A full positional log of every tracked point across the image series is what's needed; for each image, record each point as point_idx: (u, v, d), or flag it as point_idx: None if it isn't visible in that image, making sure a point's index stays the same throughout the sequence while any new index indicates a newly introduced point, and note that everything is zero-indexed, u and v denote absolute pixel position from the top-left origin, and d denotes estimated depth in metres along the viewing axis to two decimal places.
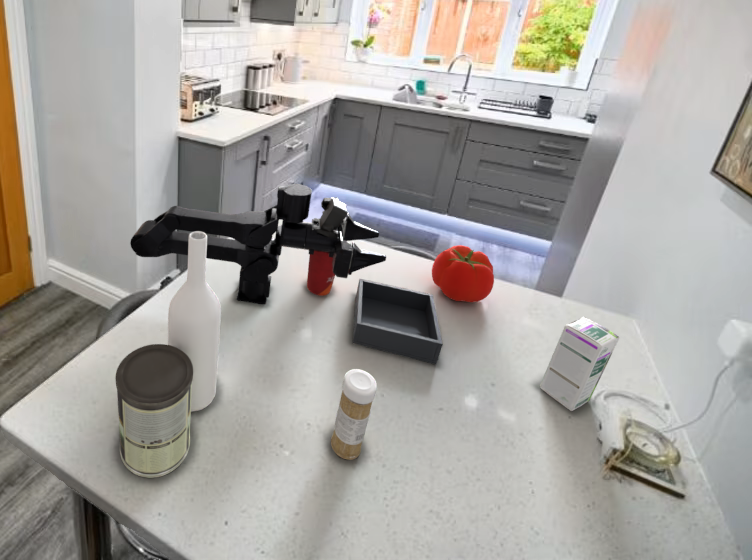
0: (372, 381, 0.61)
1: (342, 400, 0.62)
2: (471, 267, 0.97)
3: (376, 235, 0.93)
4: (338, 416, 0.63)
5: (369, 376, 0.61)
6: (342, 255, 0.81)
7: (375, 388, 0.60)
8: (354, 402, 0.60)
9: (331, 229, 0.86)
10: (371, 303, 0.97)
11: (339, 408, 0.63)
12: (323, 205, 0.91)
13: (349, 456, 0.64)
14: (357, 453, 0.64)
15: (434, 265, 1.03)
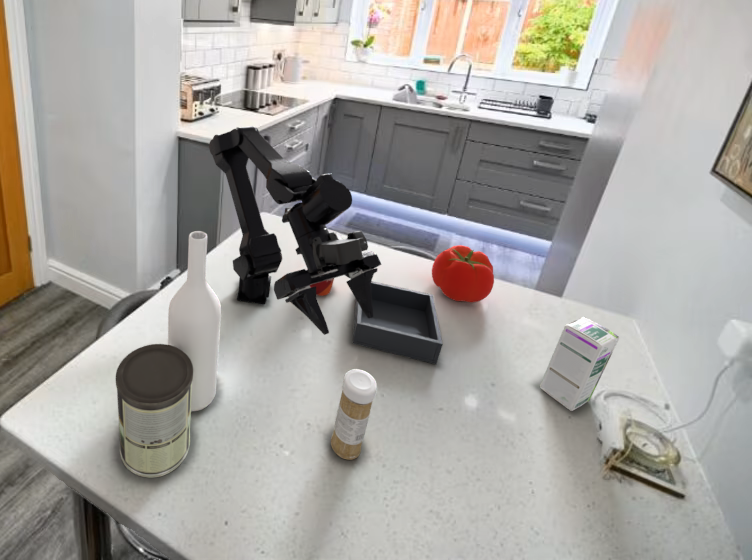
0: (372, 381, 0.61)
1: (342, 400, 0.62)
2: (471, 267, 0.97)
3: (368, 315, 0.72)
4: (338, 416, 0.63)
5: (369, 376, 0.61)
6: (286, 281, 0.67)
7: (375, 388, 0.60)
8: (354, 402, 0.60)
9: (320, 257, 0.69)
10: None
11: (339, 408, 0.63)
12: (351, 235, 0.71)
13: (349, 456, 0.64)
14: (357, 453, 0.64)
15: (434, 265, 1.03)
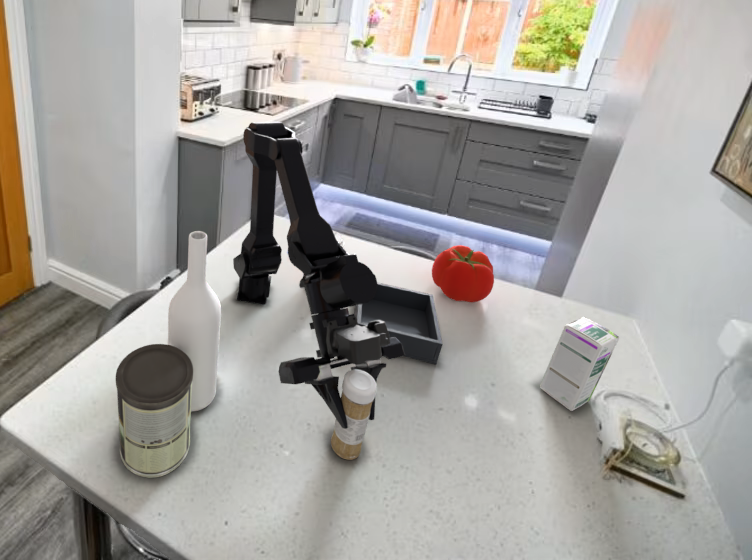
0: (372, 381, 0.61)
1: (342, 400, 0.62)
2: (471, 267, 0.97)
3: None
4: None
5: (369, 376, 0.61)
6: (290, 371, 0.60)
7: (375, 388, 0.60)
8: (354, 402, 0.60)
9: (333, 346, 0.62)
10: (371, 303, 0.97)
11: None
12: (372, 324, 0.62)
13: (349, 456, 0.64)
14: (357, 453, 0.64)
15: (434, 265, 1.03)
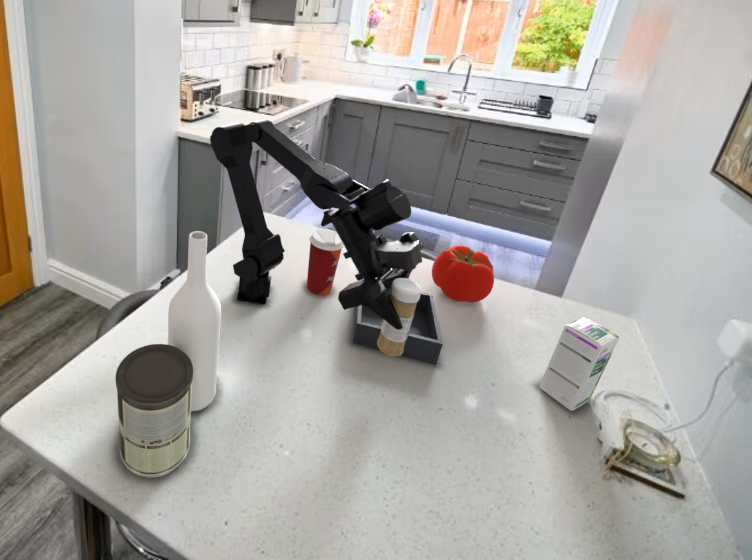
0: (414, 283, 0.72)
1: None
2: (471, 267, 0.97)
3: None
4: None
5: (409, 280, 0.72)
6: (361, 293, 0.66)
7: (419, 287, 0.71)
8: (408, 303, 0.70)
9: (382, 263, 0.70)
10: None
11: None
12: (404, 237, 0.73)
13: (399, 352, 0.74)
14: (403, 348, 0.75)
15: (434, 265, 1.03)
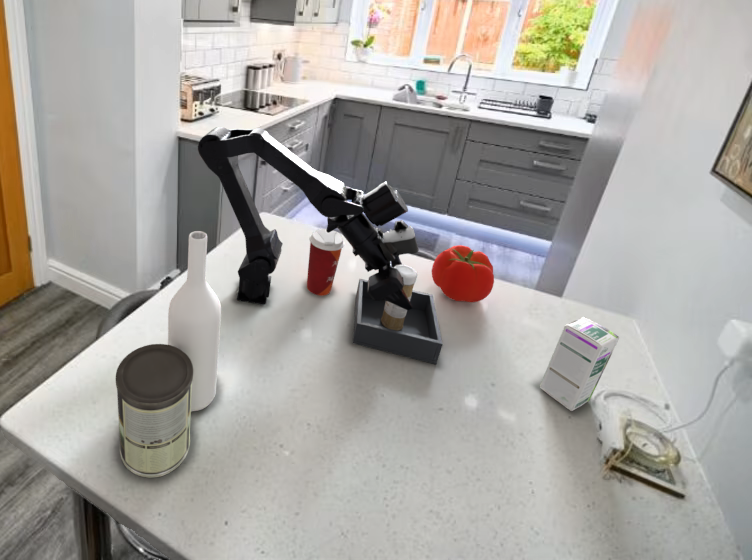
0: (408, 266, 0.87)
1: None
2: (471, 267, 0.97)
3: None
4: None
5: (403, 265, 0.87)
6: (393, 283, 0.77)
7: (413, 269, 0.87)
8: (411, 284, 0.85)
9: (393, 252, 0.82)
10: (371, 303, 0.97)
11: None
12: (397, 225, 0.86)
13: (402, 325, 0.89)
14: None
15: (434, 265, 1.03)
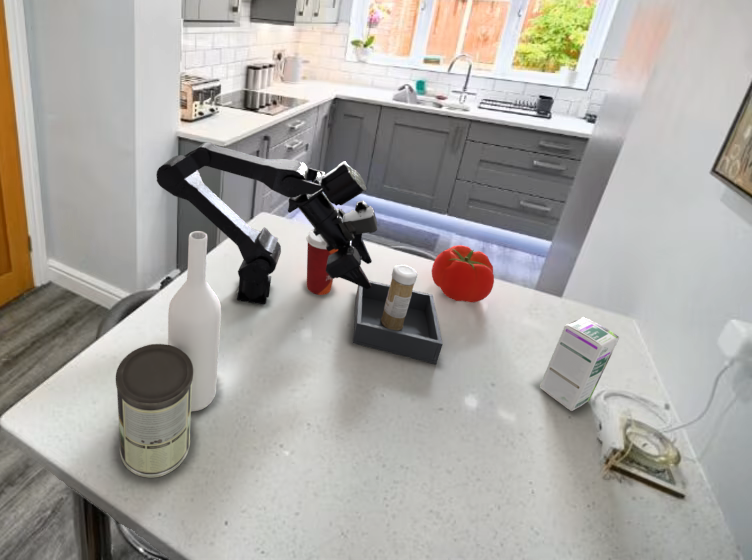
0: (408, 266, 0.87)
1: (399, 290, 0.85)
2: (471, 267, 0.97)
3: (368, 261, 0.92)
4: (396, 304, 0.87)
5: (403, 265, 0.87)
6: (349, 260, 0.78)
7: None
8: (411, 284, 0.85)
9: (352, 231, 0.83)
10: (371, 303, 0.97)
11: (396, 298, 0.86)
12: (358, 206, 0.87)
13: (402, 325, 0.89)
14: None
15: (434, 265, 1.03)
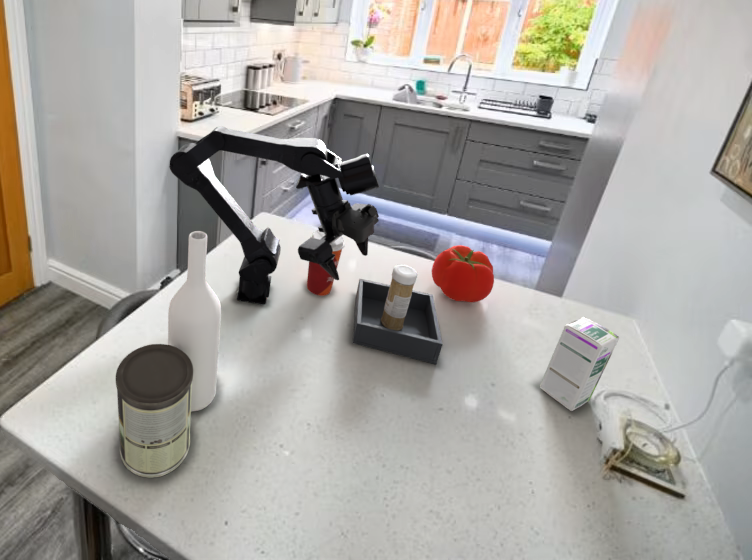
0: (408, 266, 0.87)
1: (400, 290, 0.85)
2: (471, 267, 0.97)
3: (363, 253, 0.92)
4: (396, 304, 0.87)
5: (403, 265, 0.87)
6: (314, 256, 0.81)
7: None
8: (411, 284, 0.85)
9: (339, 230, 0.83)
10: (371, 303, 0.97)
11: (396, 298, 0.86)
12: (365, 209, 0.83)
13: (402, 325, 0.89)
14: None
15: (434, 265, 1.03)
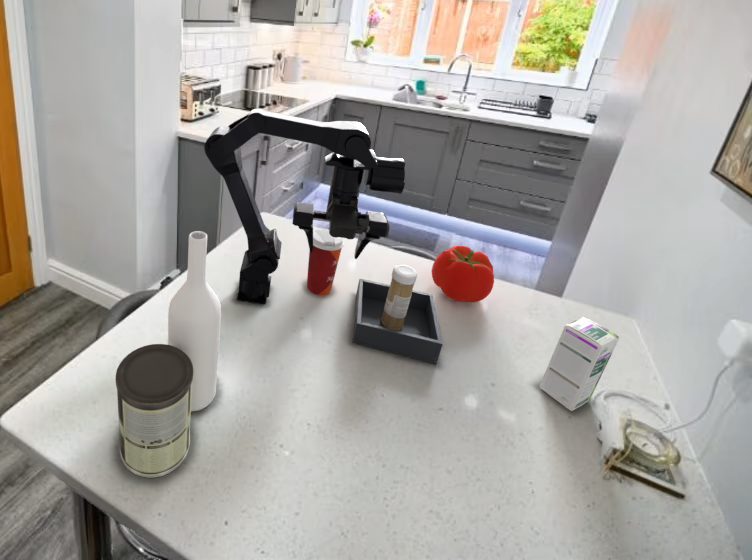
0: (408, 266, 0.87)
1: (399, 290, 0.85)
2: (471, 267, 0.97)
3: (354, 255, 0.91)
4: (396, 304, 0.87)
5: (403, 265, 0.87)
6: (293, 215, 0.87)
7: None
8: (411, 284, 0.85)
9: (328, 214, 0.84)
10: (371, 303, 0.97)
11: (396, 298, 0.86)
12: (361, 216, 0.81)
13: (402, 325, 0.89)
14: None
15: (434, 265, 1.03)
